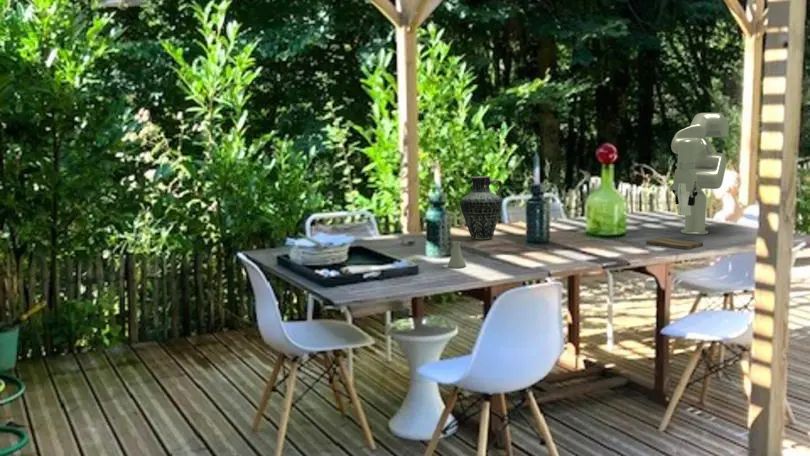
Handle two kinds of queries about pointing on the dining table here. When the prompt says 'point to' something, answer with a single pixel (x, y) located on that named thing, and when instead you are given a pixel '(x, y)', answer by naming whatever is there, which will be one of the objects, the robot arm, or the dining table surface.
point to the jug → (482, 208)
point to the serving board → (675, 243)
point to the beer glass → (683, 200)
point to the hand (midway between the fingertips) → (684, 204)
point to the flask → (456, 257)
